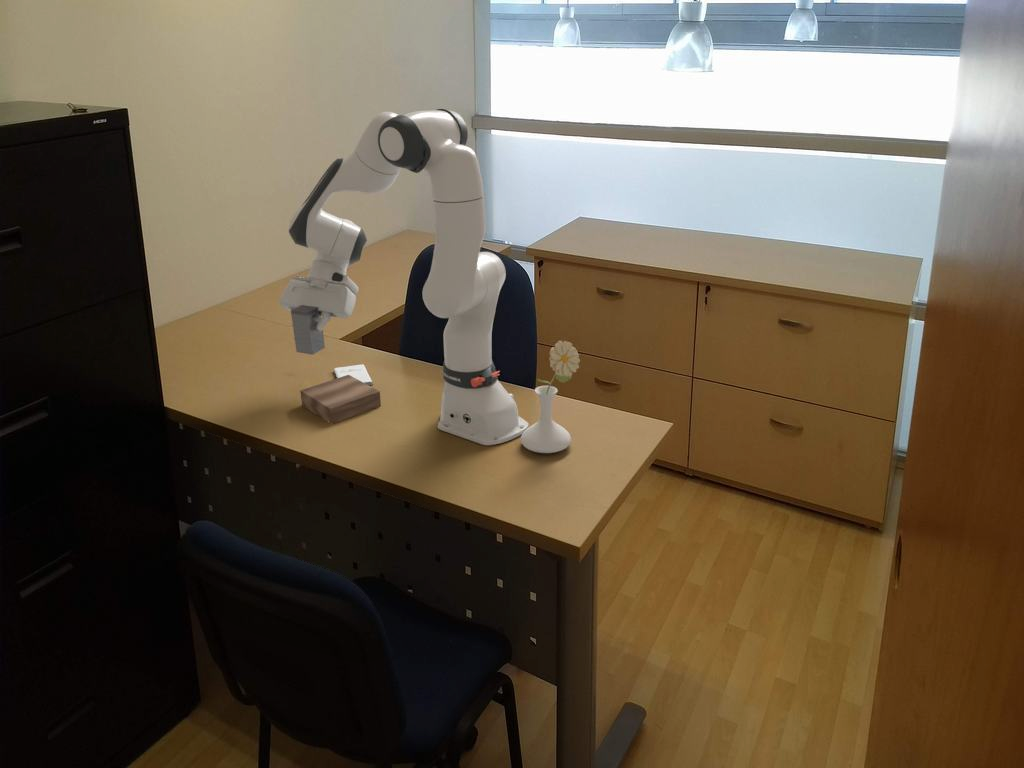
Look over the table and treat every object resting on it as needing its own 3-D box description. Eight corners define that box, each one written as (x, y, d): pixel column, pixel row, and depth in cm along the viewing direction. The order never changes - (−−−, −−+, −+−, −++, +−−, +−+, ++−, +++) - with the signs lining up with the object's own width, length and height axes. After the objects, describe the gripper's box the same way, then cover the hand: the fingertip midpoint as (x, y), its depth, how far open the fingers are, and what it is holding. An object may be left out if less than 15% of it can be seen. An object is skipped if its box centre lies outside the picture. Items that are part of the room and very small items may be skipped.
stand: (380, 405, 213) (379, 391, 211) (332, 423, 204) (330, 408, 203) (349, 388, 222) (348, 374, 221) (301, 405, 214) (300, 390, 212)
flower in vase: (529, 461, 187) (529, 355, 177) (514, 437, 197) (513, 336, 187) (585, 452, 191) (588, 348, 180) (567, 429, 200) (569, 329, 190)
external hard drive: (341, 391, 222) (334, 373, 233) (372, 386, 225) (364, 369, 235) (340, 385, 221) (333, 367, 232) (372, 381, 224) (363, 363, 235)
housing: (324, 347, 217) (319, 306, 213) (312, 354, 213) (307, 312, 209) (308, 345, 219) (303, 304, 215) (296, 352, 215) (290, 310, 211)
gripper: (285, 269, 219) (265, 318, 215) (352, 277, 211) (333, 328, 207) (298, 281, 224) (279, 329, 220) (364, 289, 216) (346, 339, 212)
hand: (306, 328), depth 213 cm, fingers closed on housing, 5 cm apart
